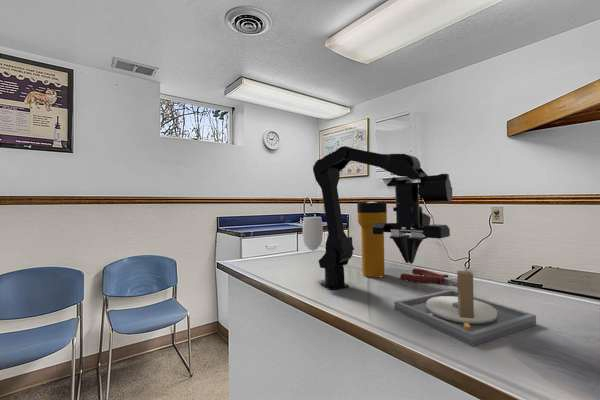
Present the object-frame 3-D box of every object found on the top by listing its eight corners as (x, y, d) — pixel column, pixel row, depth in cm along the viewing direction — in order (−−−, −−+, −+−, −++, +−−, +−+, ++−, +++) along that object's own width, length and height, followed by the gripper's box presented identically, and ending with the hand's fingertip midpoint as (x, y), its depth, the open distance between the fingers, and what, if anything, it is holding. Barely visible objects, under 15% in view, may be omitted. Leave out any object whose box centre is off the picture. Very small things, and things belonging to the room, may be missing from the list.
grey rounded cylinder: (300, 274, 106) (298, 217, 106) (317, 272, 109) (316, 216, 109) (309, 279, 100) (307, 218, 100) (327, 276, 103) (326, 217, 103)
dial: (423, 298, 75) (422, 259, 75) (485, 302, 71) (485, 261, 71) (430, 319, 62) (429, 272, 62) (507, 327, 58) (506, 276, 58)
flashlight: (355, 201, 109) (382, 201, 109) (356, 271, 109) (383, 271, 109) (360, 201, 99) (390, 201, 99) (361, 278, 99) (391, 278, 99)
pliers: (466, 293, 84) (466, 284, 84) (398, 281, 98) (398, 273, 98) (477, 285, 92) (477, 276, 92) (413, 274, 106) (413, 267, 106)
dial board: (394, 309, 72) (394, 301, 72) (451, 296, 80) (451, 289, 80) (473, 346, 53) (472, 335, 53) (536, 324, 62) (536, 315, 62)
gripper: (457, 201, 75) (459, 262, 75) (391, 202, 89) (393, 254, 89) (438, 202, 68) (441, 270, 68) (370, 204, 82) (372, 260, 82)
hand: (409, 263), depth 77 cm, fingers closed
